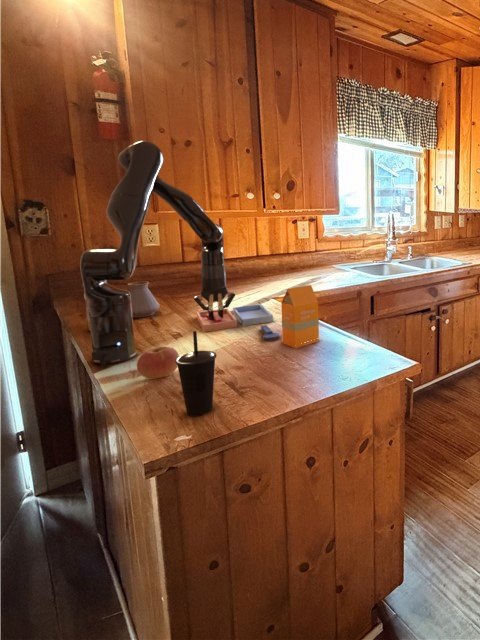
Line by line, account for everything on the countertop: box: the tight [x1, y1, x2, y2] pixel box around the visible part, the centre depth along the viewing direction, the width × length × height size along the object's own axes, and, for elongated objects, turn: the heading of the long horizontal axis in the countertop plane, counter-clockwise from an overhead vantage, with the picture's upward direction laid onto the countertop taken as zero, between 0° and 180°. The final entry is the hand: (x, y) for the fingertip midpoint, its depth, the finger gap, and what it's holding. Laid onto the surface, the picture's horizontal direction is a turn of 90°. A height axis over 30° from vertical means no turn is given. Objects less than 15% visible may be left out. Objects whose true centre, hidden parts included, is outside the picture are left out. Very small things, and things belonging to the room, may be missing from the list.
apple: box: [136, 345, 180, 380], centre depth 113 cm, size 9×9×8 cm
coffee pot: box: [80, 281, 160, 318], centre depth 157 cm, size 21×12×15 cm, turn 133°
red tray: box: [196, 307, 238, 333], centre depth 157 cm, size 19×10×2 cm, turn 43°
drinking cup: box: [175, 330, 218, 417], centre depth 96 cm, size 8×8×20 cm
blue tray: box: [232, 303, 274, 327], centre depth 166 cm, size 19×10×2 cm, turn 43°
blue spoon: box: [260, 324, 280, 342], centre depth 148 cm, size 14×5×2 cm, turn 43°
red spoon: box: [206, 312, 222, 323], centre depth 158 cm, size 14×5×2 cm, turn 44°
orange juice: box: [280, 284, 320, 349], centre depth 141 cm, size 8×9×20 cm
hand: (216, 319), depth 157 cm, fingers closed on red spoon, 2 cm apart
